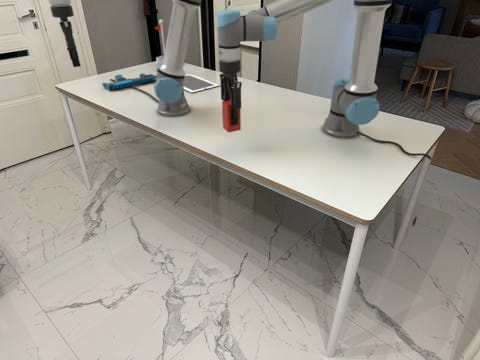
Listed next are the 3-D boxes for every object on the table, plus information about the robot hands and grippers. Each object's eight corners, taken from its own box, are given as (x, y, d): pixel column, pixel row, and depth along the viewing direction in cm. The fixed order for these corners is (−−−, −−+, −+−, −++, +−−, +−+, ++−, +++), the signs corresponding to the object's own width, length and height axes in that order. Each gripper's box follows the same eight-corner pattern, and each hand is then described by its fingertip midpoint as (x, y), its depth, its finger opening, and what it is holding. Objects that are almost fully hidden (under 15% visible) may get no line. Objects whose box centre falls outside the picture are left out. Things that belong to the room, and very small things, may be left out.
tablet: (163, 80, 212) (163, 79, 212) (190, 74, 223) (190, 73, 223) (192, 93, 192) (192, 92, 192) (220, 85, 203) (220, 85, 203)
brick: (235, 125, 135) (234, 98, 129) (240, 129, 131) (240, 102, 125) (222, 128, 133) (221, 101, 127) (228, 132, 129) (227, 105, 123)
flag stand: (173, 62, 249) (168, 17, 233) (177, 66, 239) (172, 20, 223) (155, 64, 245) (149, 18, 229) (158, 68, 235) (152, 21, 219)
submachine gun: (146, 68, 225) (164, 74, 209) (147, 73, 227) (165, 80, 210) (94, 78, 207) (110, 85, 190) (96, 84, 209) (112, 92, 192)
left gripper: (48, 2, 136) (63, 57, 148) (50, 9, 118) (67, 71, 129) (68, 1, 139) (82, 55, 151) (74, 8, 120) (88, 68, 132)
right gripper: (209, 55, 123) (213, 115, 136) (231, 67, 110) (232, 132, 122) (228, 53, 126) (230, 112, 139) (251, 64, 112) (250, 128, 125)
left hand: (75, 62), depth 140 cm, fingers open, 13 cm apart
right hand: (231, 122), depth 130 cm, fingers closed on brick, 5 cm apart
